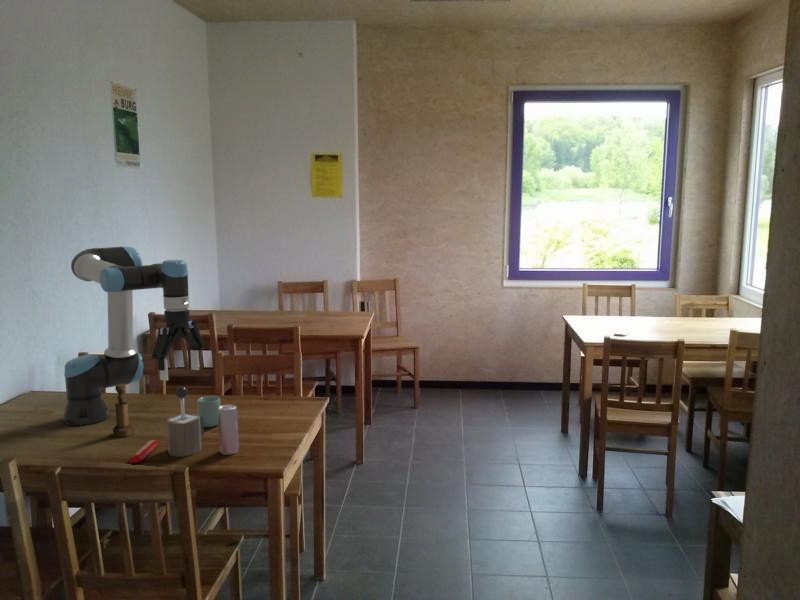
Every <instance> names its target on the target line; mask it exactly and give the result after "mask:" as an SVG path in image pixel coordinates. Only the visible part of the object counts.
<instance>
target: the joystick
mask: <svg viewBox="0 0 800 600" xmlns="http://www.w3.org/2000/svg"><path fill="white" fill-rule="evenodd" d="M175 394H176V397H178V398H179V399H180V400H179V401H180V405H179V406H180V414H181V420H185V414H186V409H185V397H186V396H187V395H188V388H186V387H185V386H178V387H177V388H176V390H175Z"/></svg>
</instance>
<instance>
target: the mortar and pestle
mask: <svg viewBox="0 0 800 600" xmlns="http://www.w3.org/2000/svg"><path fill="white" fill-rule="evenodd" d="M114 388H115V391H116V393H117V394H118V395H117V401H118V402H116V403H114V404H115V417H116V419H115V420H116V425H115V426H114V427H113V429H112V435H113V437H116V438H123V437H129V436H132V435H133V434H134V426H133V425H132V424H130V421H129V420H130V419H129V406H128V405H129V403H128V402H127V401H125V395H124V392H125V389H126V385H123V384H118V385H116V386H115V387H114Z"/></svg>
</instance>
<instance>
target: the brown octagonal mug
mask: <svg viewBox="0 0 800 600" xmlns="http://www.w3.org/2000/svg"><path fill="white" fill-rule="evenodd" d="M165 422H166V424H165V425H166V435H167V436H166V438H167V453H168V454H169V456H173V457H177V458H179V457H188V456H193V455H196V454H197V453H200V452H201V450H202V448H203V446H202V436H203V435H205V433H204V427H203V416H199V415H198V413H197V414H196V413H185V420H181V413H180V414H175V415H172V416H170V417H168V418H167V419H166V420H165Z"/></svg>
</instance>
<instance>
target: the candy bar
mask: <svg viewBox="0 0 800 600" xmlns="http://www.w3.org/2000/svg"><path fill="white" fill-rule="evenodd" d="M158 445H159V440H156V439H154V440H148V441H147V442H145V443H144V444H143V445H142V446H141V447H139V448H138V449H137V450H136V451H135V452H133V453H132V455H131V456H130V457H129V464H131V463H133V464H136V463H137V464H138V463H140V462H142V461H143V460H144V459H145V458H146V457H148V455H150V454H151V453H152V452H153V451H154V450H155V449H157V447H158Z"/></svg>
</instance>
